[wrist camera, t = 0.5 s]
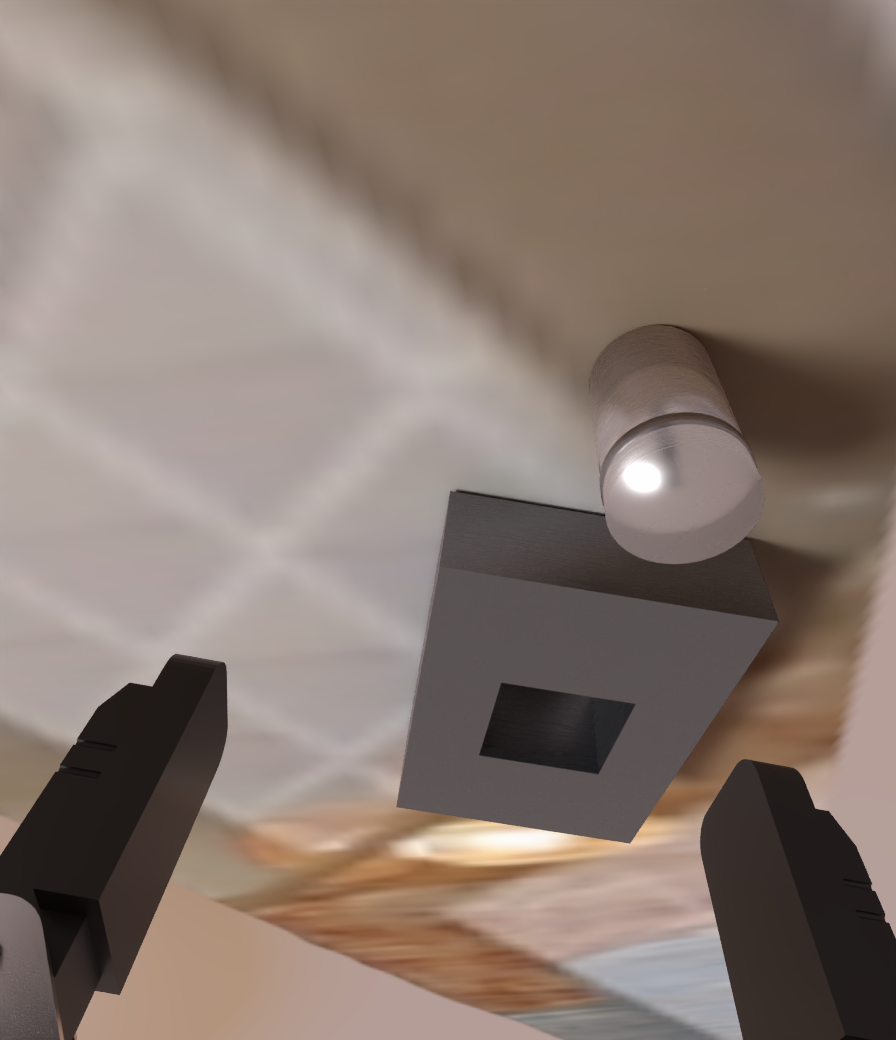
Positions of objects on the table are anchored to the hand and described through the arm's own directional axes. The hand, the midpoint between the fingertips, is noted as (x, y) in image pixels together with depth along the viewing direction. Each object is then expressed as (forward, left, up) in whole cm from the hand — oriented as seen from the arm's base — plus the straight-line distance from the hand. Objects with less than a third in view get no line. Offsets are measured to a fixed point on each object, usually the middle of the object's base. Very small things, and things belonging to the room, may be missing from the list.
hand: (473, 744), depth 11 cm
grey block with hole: (+20, +6, -19) cm, 28 cm away
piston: (+3, +6, -19) cm, 20 cm away
